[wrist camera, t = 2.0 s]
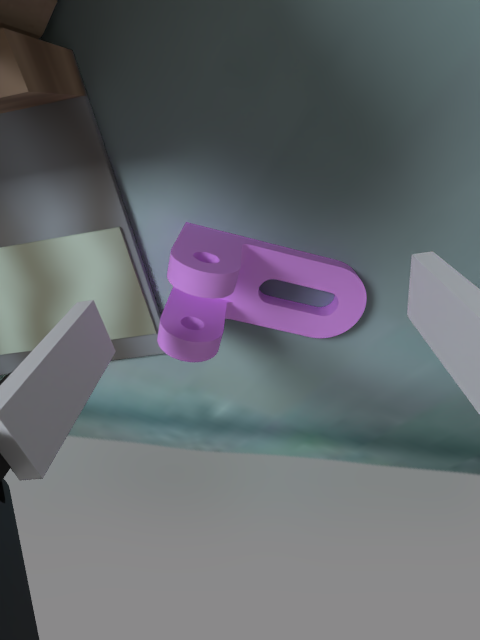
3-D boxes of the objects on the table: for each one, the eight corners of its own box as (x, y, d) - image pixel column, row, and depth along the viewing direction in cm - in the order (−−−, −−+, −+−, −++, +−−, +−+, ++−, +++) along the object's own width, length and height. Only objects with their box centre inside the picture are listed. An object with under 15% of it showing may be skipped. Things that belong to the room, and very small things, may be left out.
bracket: (173, 296, 26) (150, 353, 20) (186, 221, 23) (164, 262, 17) (342, 334, 27) (369, 399, 21) (374, 268, 24) (415, 322, 18)
